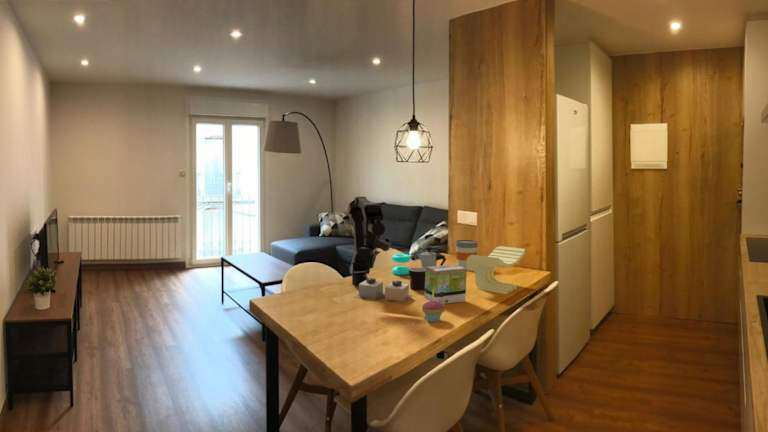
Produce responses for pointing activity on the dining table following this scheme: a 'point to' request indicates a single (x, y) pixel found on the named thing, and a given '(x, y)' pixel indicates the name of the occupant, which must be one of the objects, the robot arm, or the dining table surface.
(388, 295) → the block
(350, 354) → the dining table surface
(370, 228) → the robot arm
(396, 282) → the outer press plunger
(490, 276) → the slatted curved stool
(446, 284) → the tea box
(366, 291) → the grey block
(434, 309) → the cupcake
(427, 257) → the coffee maker
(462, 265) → the reusable coffee cup
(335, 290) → the dining table surface
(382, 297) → the serving board
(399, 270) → the donuts
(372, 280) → the inner press plunger
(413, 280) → the coffee mug
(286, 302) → the dining table surface
